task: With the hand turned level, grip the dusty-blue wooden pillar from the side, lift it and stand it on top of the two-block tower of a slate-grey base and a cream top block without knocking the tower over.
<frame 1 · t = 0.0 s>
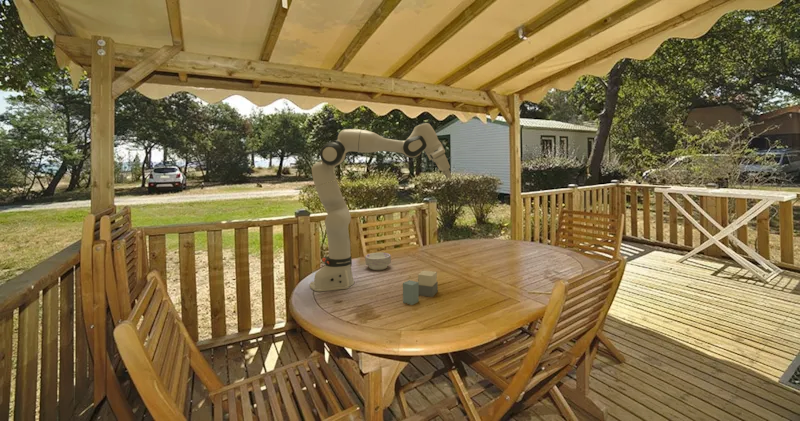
hand: (449, 177, 182), 54 cm above the table, tool tilted 30°, fingers open, 8 cm apart
paper bowls: (378, 268, 216), on the table
tower base: (427, 293, 174), on the table, touching tower top
tower top: (427, 283, 173), point 5 cm above the table, touching tower base
blue pillar: (410, 302, 163), on the table
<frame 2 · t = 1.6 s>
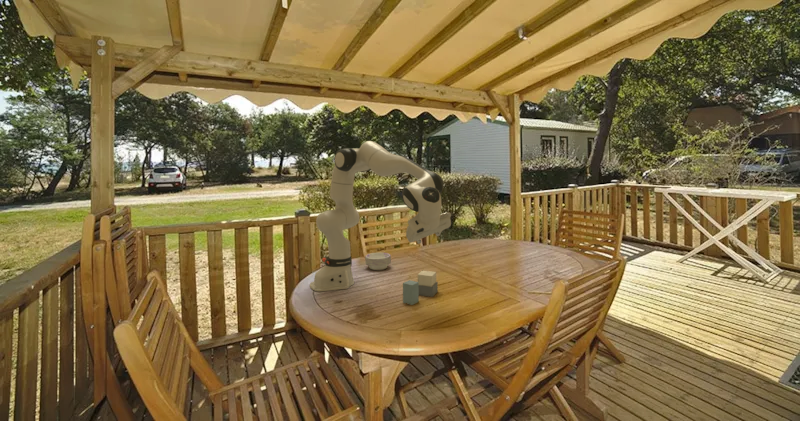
hand: (428, 238, 162), 28 cm above the table, tool tilted 45°, fingers open, 8 cm apart
nothing on the table moved.
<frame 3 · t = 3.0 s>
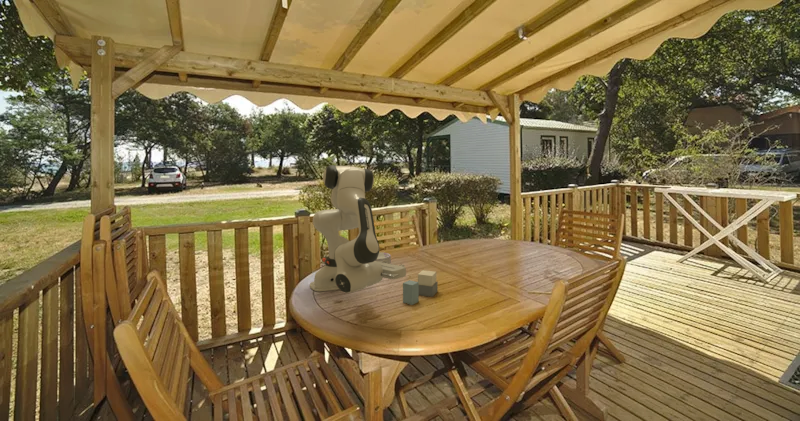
hand: (393, 264, 151), 20 cm above the table, tool horizontal, fingers open, 8 cm apart
nothing on the table moved.
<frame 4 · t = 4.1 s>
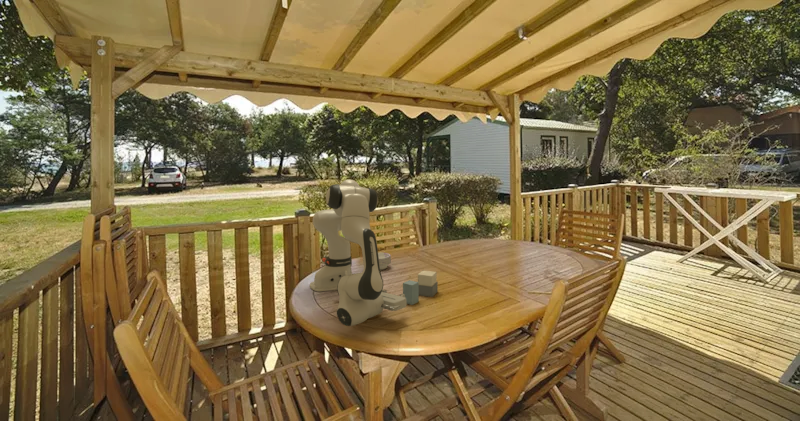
hand: (394, 293, 152), 8 cm above the table, tool horizontal, fingers open, 8 cm apart
nothing on the table moved.
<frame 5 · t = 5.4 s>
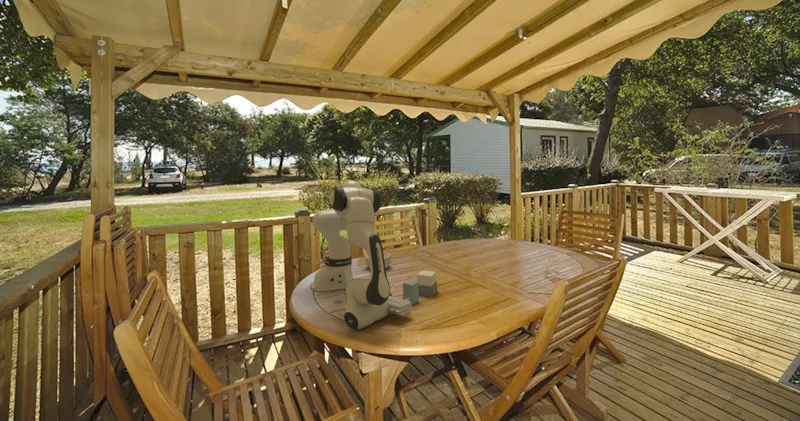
hand: (399, 296, 156), 5 cm above the table, tool horizontal, fingers open, 8 cm apart
nothing on the table moved.
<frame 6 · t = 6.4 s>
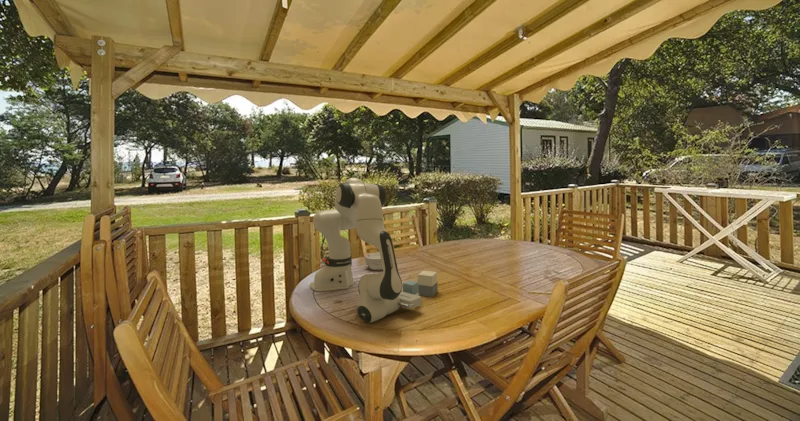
hand: (409, 292, 161), 5 cm above the table, tool horizontal, fingers open, 8 cm apart
nothing on the table moved.
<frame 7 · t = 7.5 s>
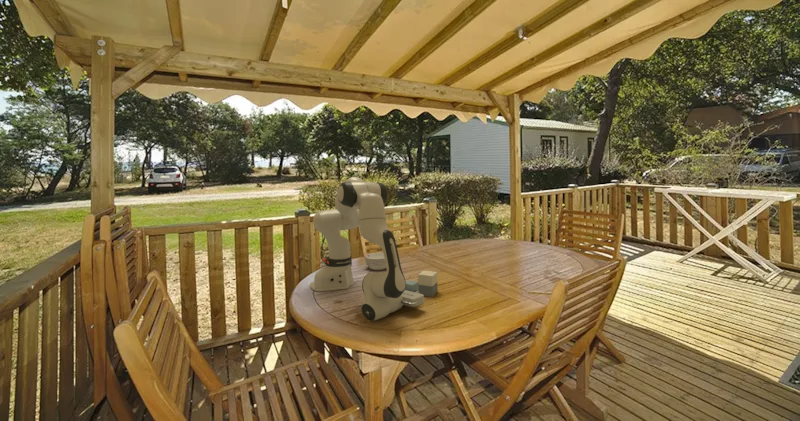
hand: (411, 290, 163), 5 cm above the table, tool horizontal, fingers closed on blue pillar, 5 cm apart
blue pillar: (410, 302, 163), on the table, touching gripper
everything else where it was.
when the fingers open (16 cm above the table, at t = 14.1 s): blue pillar drops 1 cm, resting on tower top.
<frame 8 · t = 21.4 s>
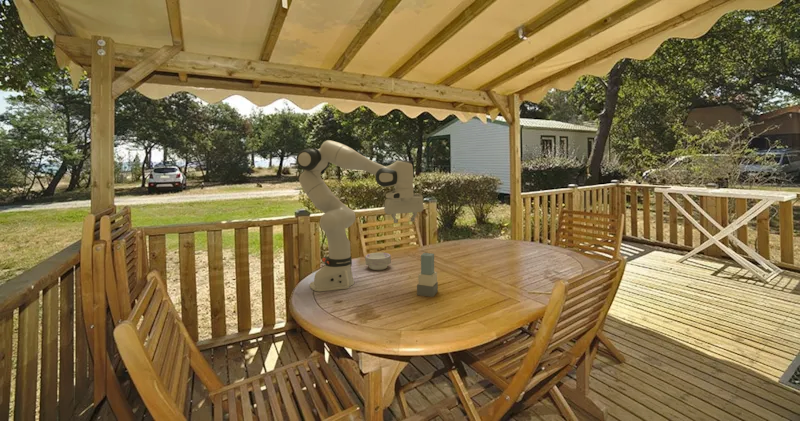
hand: (404, 222, 178), 33 cm above the table, tool pointing down, fingers open, 8 cm apart
tower top: (427, 283, 173), point 5 cm above the table, touching blue pillar, tower base
blue pillar: (427, 273, 173), point 10 cm above the table, touching tower top
everything else where it was.
at the end: blue pillar 0.2 cm off-centre on the tower top, point 5.0 cm above the tower top's base; blue pillar tilted 0°; tower top 0.4 cm from the target spot, point 4.8 cm above the table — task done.
